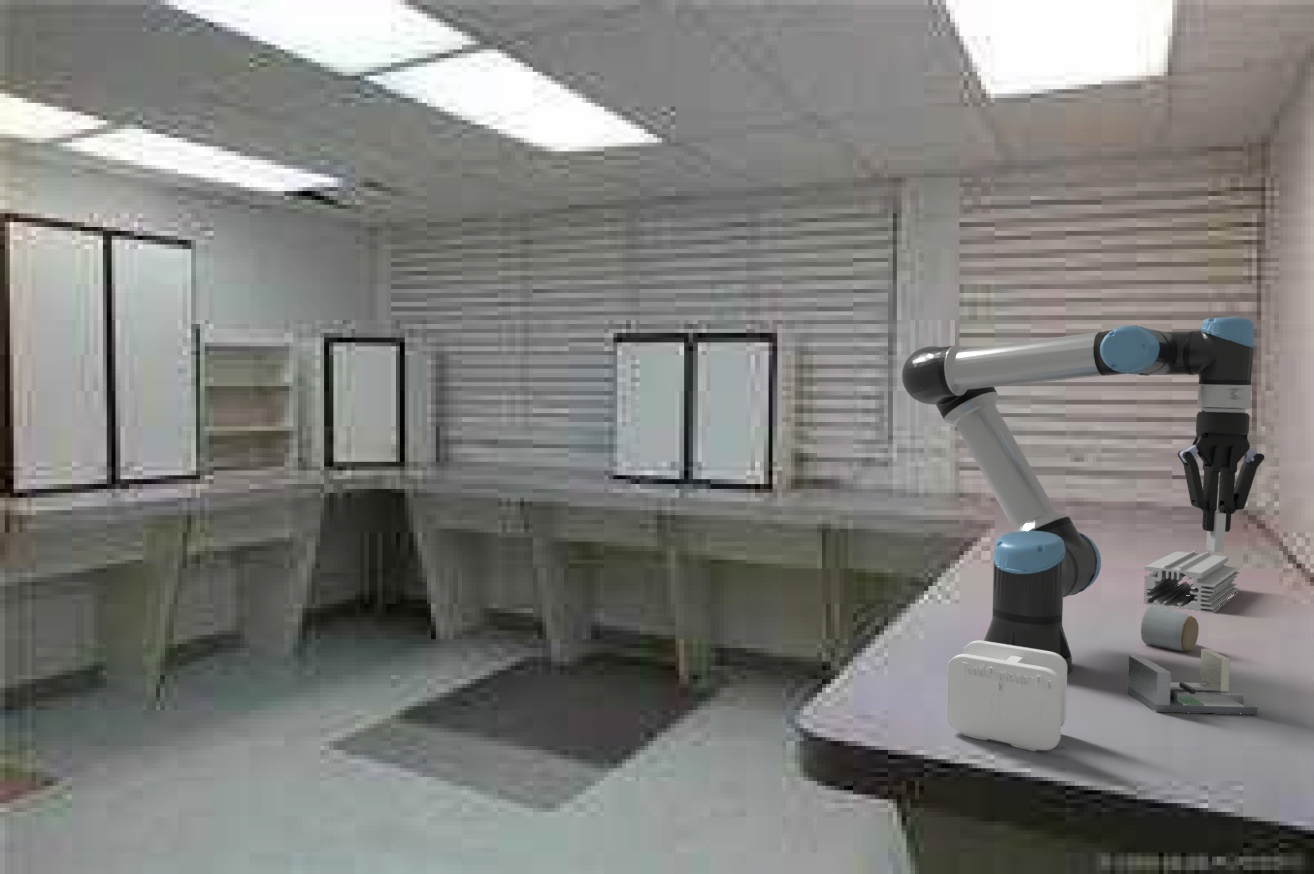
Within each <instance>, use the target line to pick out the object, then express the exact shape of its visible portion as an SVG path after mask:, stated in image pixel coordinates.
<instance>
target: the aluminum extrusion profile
mask: <svg viewBox="0 0 1314 874" xmlns="http://www.w3.org/2000/svg"><path fill="white" fill-rule="evenodd" d="M1228 562H1229V556H1225V555H1224V556H1223V555H1214V554H1210V551H1209V550H1207V551H1205V552H1203V553H1197V550H1196V549H1194V550H1192V551H1189V552H1188V551H1187V552H1186V551H1178V550H1176V551H1174V552H1172V553H1170V554H1168V555H1166V556H1163V557H1162V558H1160V559H1157V560H1155V561H1153V562H1151V563H1149V564H1148V565H1145V566H1144V571H1147V572H1148V571H1149V572H1150V573H1148V574H1147V575H1145V576H1143V577H1144V580H1143V581H1144V584H1143V585H1144V586H1143V604H1145V605H1150V606H1152V605H1153V606H1158V605H1159V606H1158V607H1165V606H1166V608H1174V609H1179V610H1185V609H1188V611H1192V610H1195V611H1194V612H1199V611H1200V612H1201V613H1208V614H1215V613H1216V612H1217V611H1218V610H1220V607H1221V606H1222V605H1223V606H1225V605H1226V604H1227V603H1228V602H1229V601H1228V600H1227V599H1228V597H1230V596H1231V595H1233V594H1234V595H1235V596H1237V595H1238V594H1239V593H1238V592H1239V591H1238V590H1239V587H1236V586H1237V583H1233V582H1235V579H1236V578H1237V577H1238V576H1237V575H1239V574H1240V572H1239V570H1240V567H1235V566H1234V567H1233V566H1229V565H1225V564H1226V563H1228ZM1186 576H1187V577H1186ZM1184 577H1186V578H1185V579H1186V581H1184V582H1182V583H1181V584H1179V583H1180V581H1182V580H1183V578H1184ZM1191 579H1193V583H1191V584H1190V583H1188V582H1187V581H1190V580H1191ZM1178 585H1179V586H1178ZM1192 587H1196V588H1195V589H1191V588H1192ZM1235 592H1237V593H1238V594H1237V593H1235ZM1236 594H1237V595H1236ZM1186 595H1190V596H1186ZM1227 601H1228V602H1227ZM1226 602H1227V603H1226ZM1225 603H1226V604H1225ZM1219 605H1220V606H1219ZM1223 606H1222V607H1223ZM1222 607H1221V608H1222Z"/></svg>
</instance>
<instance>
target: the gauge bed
mask: <svg viewBox="0 0 1314 874" xmlns="http://www.w3.org/2000/svg"><path fill="white" fill-rule="evenodd" d="M1171 675H1172V672H1170V671H1169V670H1167V669H1165V668H1164V667H1162V666H1160V665H1158V664H1157V663H1155V662H1153V661H1152V660H1149V659H1148V658H1146V657H1144V656H1143V655H1128V678H1127V679H1128V680H1127V681H1128V683H1127V694H1129V696H1131V697H1133V698H1134V699H1136V700H1137V701H1139V702H1140V703H1142V704H1143V705H1145V706H1146V707H1147V706H1148V708H1149V709H1151V710H1152V711H1153V710H1155V711H1156V712H1155V711H1154V712H1155V713H1160V712H1180V713H1179V714H1197V713H1215V714H1214V715H1235V714H1240V713H1241V714H1257V715H1258V710H1259V707H1258V706H1256V705H1255V704H1252V703H1250V702H1249V701H1246V700H1245V695H1243V694H1242V693H1240V692H1230V690H1229V691H1219V690H1218V693H1208V692H1195V694H1191V693H1189V692H1174V696H1170V685H1171V682H1172V681H1171V680H1172V676H1171ZM1157 711H1158V712H1157ZM1182 712H1183V713H1182ZM1185 712H1186V713H1185ZM1188 712H1189V713H1188ZM1227 713H1228V714H1227Z"/></svg>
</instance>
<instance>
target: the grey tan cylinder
mask: <svg viewBox="0 0 1314 874" xmlns="http://www.w3.org/2000/svg"><path fill="white" fill-rule="evenodd" d="M1140 637H1141V640H1142V642H1143V643H1144V644H1146V645H1148V646H1149V645H1150V646H1155V647H1158V648H1162V647H1163V649H1169V650H1172V651H1176V650H1177V652H1185V653H1186V652H1189V651H1192V649H1194V647H1195V646H1196V644H1197V640H1198V639H1199V638H1198V637H1199V623H1198V620H1197V619H1196V618H1195V617H1194V616H1192V615H1190V614H1188V613H1186V612H1185V613H1184V612H1180V611H1175V610H1172V609H1169V608H1164V607H1162V606H1158V605H1150V606H1148V607H1147V608H1146V609H1145V611H1144V613H1143V616H1142V619H1141V622H1140Z"/></svg>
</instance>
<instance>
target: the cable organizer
mask: <svg viewBox="0 0 1314 874" xmlns="http://www.w3.org/2000/svg"><path fill="white" fill-rule="evenodd" d="M946 668H947V673H946V674H947V675H946V710H945V711H946V713H945V714H946V715H945V717H946V718H945V720H946V722H947V724H948V725H949V726H950V728H951V729H953V730H955V731H956V732H959V733H961V734H962V735H963V736H965V737H968V738H973V739H976V740H982V741H988V740H994V741H997V742H1002V743H1006V744H1010V746H1011V747H1014V748H1018V749H1022V750H1027V751H1030V752H1037V751H1050V750H1053V749H1054V748H1056V747H1057V745H1058V744H1059V743H1060V741H1061V736H1062V733H1061V732H1062V731H1061V730H1062V727H1063V726H1064V724H1065V723H1066V720H1067V697H1068V694H1067V692H1068V673H1067V663H1066V661H1065V659H1064V658H1063V657H1062V656H1060V655H1059V654H1057V653H1054V652H1051V651H1045V650H1038V649H1032V648H1026V647H1019V646H1013V645H1007V644H1000V643H994V642H988V641H984V640H974V641H971V642H969V643H967V644H966V646H965V647H964V648H963V652H962V653H960V654H957V655H955V656H954V657H952V658H951V659H950V660H949V661H948V662H947V667H946Z"/></svg>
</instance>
